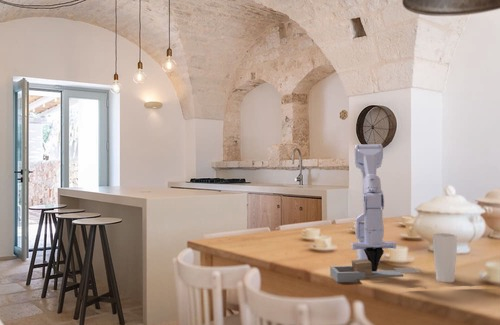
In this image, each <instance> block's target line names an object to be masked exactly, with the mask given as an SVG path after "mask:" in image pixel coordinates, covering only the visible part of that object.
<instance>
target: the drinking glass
mask: <svg viewBox="0 0 500 325" xmlns="http://www.w3.org/2000/svg"><path fill="white" fill-rule="evenodd" d="M457 243H458V240H457V235H456V234H453V233H440V232H439V233H434V234H433V242H432V245H433V246H432V247H433V249H432V250H433V257H434V270H435V280H436V281H438V282H443V283H454V282H455V274H456V273H455V272H456V262H457V252H458V251H457V248H458V244H457Z"/></svg>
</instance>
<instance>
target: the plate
mask: <svg viewBox="0 0 500 325" xmlns="http://www.w3.org/2000/svg"><path fill="white" fill-rule="evenodd" d="M393 270H397V271H398V272H400V273H402V274H411V273H414V274H415V273H419V274H420V273H421V271H420V270H418V269H416V268H415V267H412V266H411V267H393Z"/></svg>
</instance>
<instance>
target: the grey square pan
mask: <svg viewBox="0 0 500 325" xmlns="http://www.w3.org/2000/svg"><path fill="white" fill-rule="evenodd" d="M329 273H330V274H329V276H330V277H331V278H332V279H334V281H335V282H336V283H359V282H360V283H361V281H360V279H361V280H362V279H363V280H365V279H366V278H387V277H389V278H390V277H391V278H392V277H403V276H404V273H400V272H399V271H397V270H395V269H386V270H385V269H383V270H382V269H381V270H377V271H376V272H373V271H372V274H371V275H365V272H364V271H361V272H352V265H333V266H331V265H330V267H329Z"/></svg>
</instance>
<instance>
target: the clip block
mask: <svg viewBox="0 0 500 325" xmlns="http://www.w3.org/2000/svg"><path fill="white" fill-rule="evenodd" d="M351 266H352V272H361V271H364V272H365V275H371V274H372V265H371V262H370V261H369V260H367V259H359V260H358V259H351Z"/></svg>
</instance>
